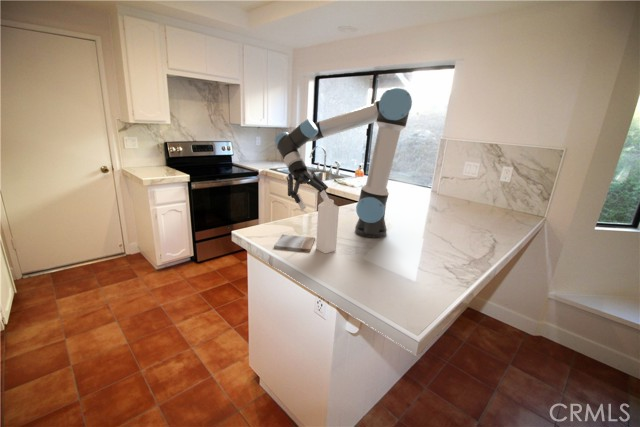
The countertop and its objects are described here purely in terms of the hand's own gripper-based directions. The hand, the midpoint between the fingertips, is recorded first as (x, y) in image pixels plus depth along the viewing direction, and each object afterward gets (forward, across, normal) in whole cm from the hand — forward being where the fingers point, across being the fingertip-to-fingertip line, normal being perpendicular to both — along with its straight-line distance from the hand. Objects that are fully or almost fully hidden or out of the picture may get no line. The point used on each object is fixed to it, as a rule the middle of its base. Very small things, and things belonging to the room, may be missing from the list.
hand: (316, 206), depth 124 cm
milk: (+17, -1, -8) cm, 18 cm away
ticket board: (+8, +6, -16) cm, 19 cm away
